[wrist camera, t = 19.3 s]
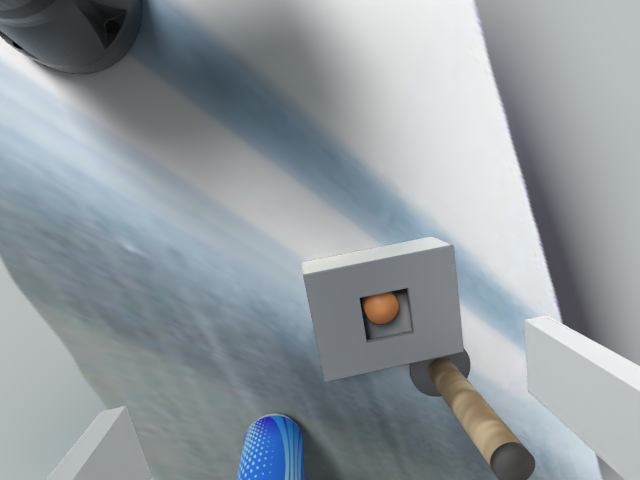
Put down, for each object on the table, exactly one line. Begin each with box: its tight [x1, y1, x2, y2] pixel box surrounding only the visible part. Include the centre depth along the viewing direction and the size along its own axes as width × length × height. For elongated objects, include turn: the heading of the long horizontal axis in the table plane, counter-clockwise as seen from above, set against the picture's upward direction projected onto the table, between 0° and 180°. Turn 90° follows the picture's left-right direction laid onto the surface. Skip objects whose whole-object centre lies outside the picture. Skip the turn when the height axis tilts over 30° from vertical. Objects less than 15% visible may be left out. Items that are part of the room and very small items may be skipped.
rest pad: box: [410, 349, 470, 396], centre depth 47 cm, size 9×9×1 cm
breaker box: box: [302, 237, 464, 382], centre depth 41 cm, size 18×14×6 cm
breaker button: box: [362, 291, 399, 324], centre depth 41 cm, size 4×4×2 cm
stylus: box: [427, 358, 535, 480], centre depth 39 cm, size 4×4×16 cm
